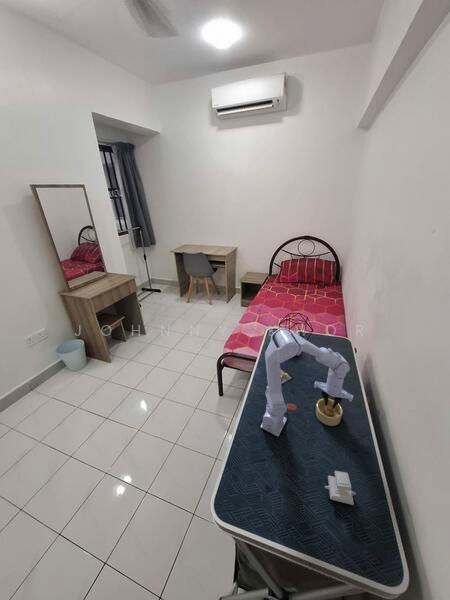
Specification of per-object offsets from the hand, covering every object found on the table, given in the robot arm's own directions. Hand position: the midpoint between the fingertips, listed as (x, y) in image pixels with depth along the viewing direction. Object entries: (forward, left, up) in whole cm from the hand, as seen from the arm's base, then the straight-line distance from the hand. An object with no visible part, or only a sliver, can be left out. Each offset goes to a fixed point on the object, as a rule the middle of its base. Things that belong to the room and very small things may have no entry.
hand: (330, 405), depth 101 cm
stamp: (-29, -10, -5) cm, 31 cm away
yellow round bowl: (-1, 0, -5) cm, 5 cm away
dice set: (+10, +26, -5) cm, 28 cm away
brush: (0, 0, -4) cm, 4 cm away
